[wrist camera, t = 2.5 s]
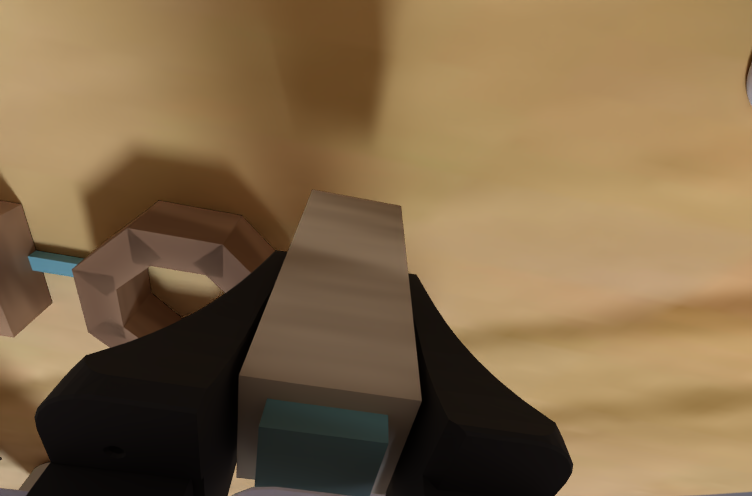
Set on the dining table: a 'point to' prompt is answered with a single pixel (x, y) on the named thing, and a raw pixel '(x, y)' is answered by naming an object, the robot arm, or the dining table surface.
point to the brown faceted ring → (166, 250)
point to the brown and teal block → (333, 356)
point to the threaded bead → (18, 273)
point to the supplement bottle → (749, 85)
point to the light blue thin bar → (53, 263)
